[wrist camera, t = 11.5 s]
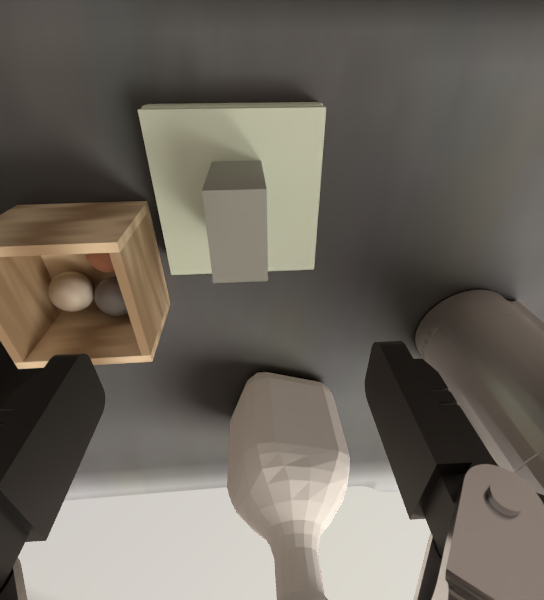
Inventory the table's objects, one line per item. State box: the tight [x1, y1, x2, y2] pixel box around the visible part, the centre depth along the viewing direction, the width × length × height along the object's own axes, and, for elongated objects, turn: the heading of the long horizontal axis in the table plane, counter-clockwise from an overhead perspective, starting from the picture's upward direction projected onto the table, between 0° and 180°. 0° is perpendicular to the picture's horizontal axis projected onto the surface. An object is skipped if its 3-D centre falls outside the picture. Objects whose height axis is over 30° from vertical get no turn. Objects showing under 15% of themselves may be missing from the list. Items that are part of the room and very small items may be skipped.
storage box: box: [0, 201, 171, 369], centre depth 23 cm, size 9×9×7 cm
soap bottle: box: [227, 372, 350, 600], centre depth 28 cm, size 10×10×23 cm
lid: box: [138, 102, 326, 283], centre depth 20 cm, size 11×11×8 cm
